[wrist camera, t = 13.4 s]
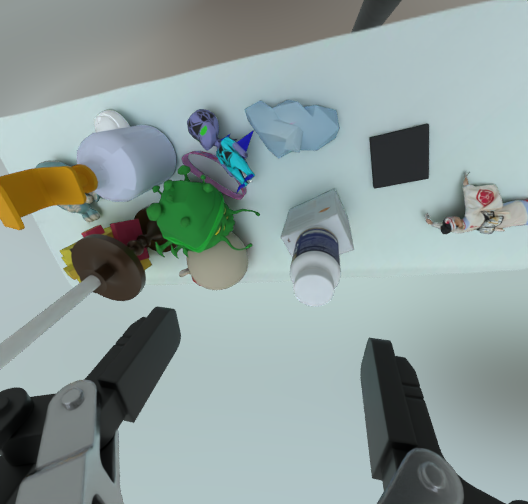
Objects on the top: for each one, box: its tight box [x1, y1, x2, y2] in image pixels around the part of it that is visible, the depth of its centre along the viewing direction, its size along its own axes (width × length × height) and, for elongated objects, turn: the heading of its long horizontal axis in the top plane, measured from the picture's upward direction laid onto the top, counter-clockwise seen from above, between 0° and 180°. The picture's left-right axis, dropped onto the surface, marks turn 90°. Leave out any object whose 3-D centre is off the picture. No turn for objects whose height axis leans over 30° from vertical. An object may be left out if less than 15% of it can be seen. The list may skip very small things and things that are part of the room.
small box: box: [281, 189, 354, 258], centre depth 39 cm, size 8×6×10 cm
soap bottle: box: [0, 125, 176, 230], centre depth 34 cm, size 9×9×25 cm
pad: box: [370, 124, 429, 189], centre depth 37 cm, size 7×7×1 cm
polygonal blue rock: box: [245, 100, 339, 159], centre depth 37 cm, size 13×7×5 cm, turn 94°
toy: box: [60, 219, 152, 283], centre depth 50 cm, size 13×10×15 cm
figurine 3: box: [424, 171, 528, 234], centre depth 38 cm, size 6×8×15 cm
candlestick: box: [0, 207, 178, 369], centre depth 37 cm, size 11×11×35 cm
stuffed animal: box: [36, 161, 100, 223], centre depth 48 cm, size 11×7×12 cm
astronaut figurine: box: [94, 110, 130, 132], centre depth 43 cm, size 9×12×3 cm
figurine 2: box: [146, 165, 260, 259], centre depth 39 cm, size 13×15×10 cm
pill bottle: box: [290, 226, 341, 306], centre depth 31 cm, size 5×5×10 cm
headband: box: [182, 151, 246, 199], centre depth 43 cm, size 11×4×2 cm, turn 59°
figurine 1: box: [187, 109, 255, 192], centre depth 38 cm, size 7×6×12 cm
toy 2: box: [179, 232, 248, 290], centre depth 46 cm, size 10×12×10 cm
